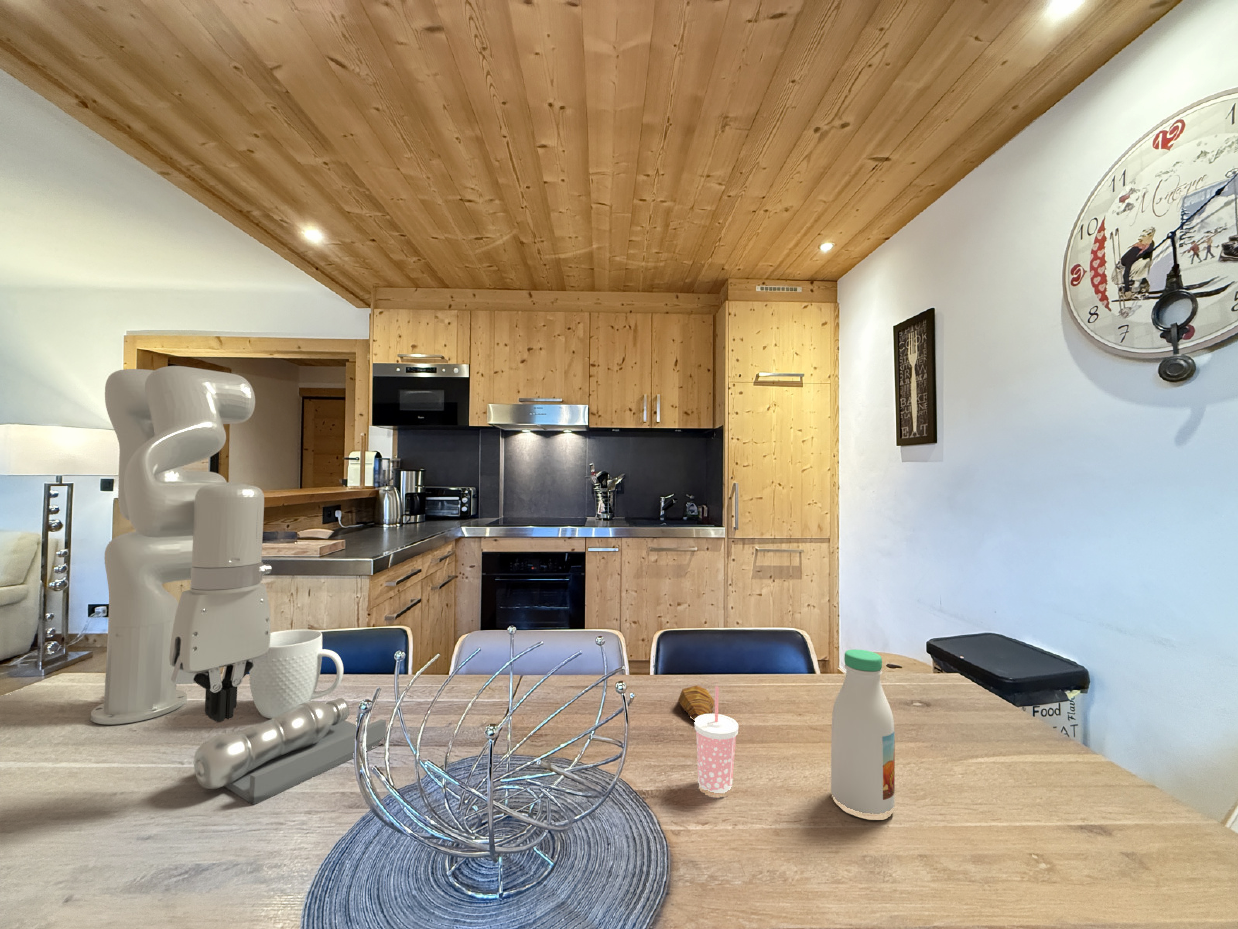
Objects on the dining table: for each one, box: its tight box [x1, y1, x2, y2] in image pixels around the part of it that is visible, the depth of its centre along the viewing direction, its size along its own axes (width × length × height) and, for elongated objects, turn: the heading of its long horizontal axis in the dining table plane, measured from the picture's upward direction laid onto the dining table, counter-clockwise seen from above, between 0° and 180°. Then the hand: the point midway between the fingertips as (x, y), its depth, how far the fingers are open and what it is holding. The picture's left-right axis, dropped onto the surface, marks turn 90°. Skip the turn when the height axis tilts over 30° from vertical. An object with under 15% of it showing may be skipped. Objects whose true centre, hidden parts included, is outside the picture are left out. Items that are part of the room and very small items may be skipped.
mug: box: [248, 628, 344, 720], centre depth 95 cm, size 15×11×13 cm
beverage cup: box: [693, 685, 739, 793], centre depth 74 cm, size 6×6×14 cm
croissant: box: [678, 685, 715, 719], centre depth 99 cm, size 14×7×5 cm, turn 2°
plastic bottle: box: [193, 697, 350, 790], centre depth 78 cm, size 6×7×20 cm
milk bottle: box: [830, 649, 896, 814], centre depth 71 cm, size 8×8×20 cm
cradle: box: [223, 719, 387, 806], centre depth 79 cm, size 12×19×4 cm, turn 150°
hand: (220, 717), depth 70 cm, fingers closed
